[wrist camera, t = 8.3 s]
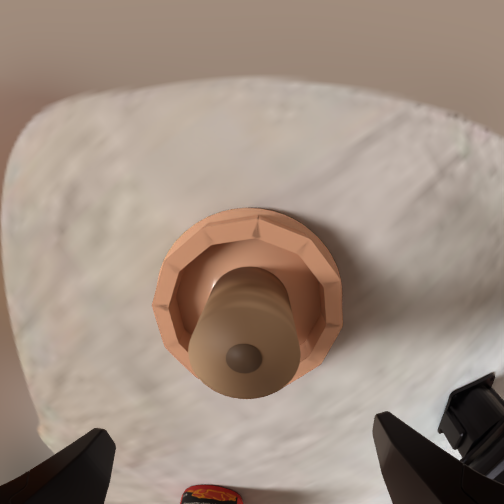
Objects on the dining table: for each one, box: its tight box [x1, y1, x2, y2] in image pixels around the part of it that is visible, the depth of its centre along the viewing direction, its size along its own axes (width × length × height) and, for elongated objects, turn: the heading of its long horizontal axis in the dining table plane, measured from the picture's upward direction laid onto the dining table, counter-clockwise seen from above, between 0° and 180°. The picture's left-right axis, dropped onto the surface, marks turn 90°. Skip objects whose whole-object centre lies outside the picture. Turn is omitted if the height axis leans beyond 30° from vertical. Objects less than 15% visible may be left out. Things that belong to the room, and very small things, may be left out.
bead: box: [188, 266, 301, 399], centre depth 15 cm, size 5×5×6 cm
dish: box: [152, 208, 343, 387], centre depth 18 cm, size 12×12×3 cm
